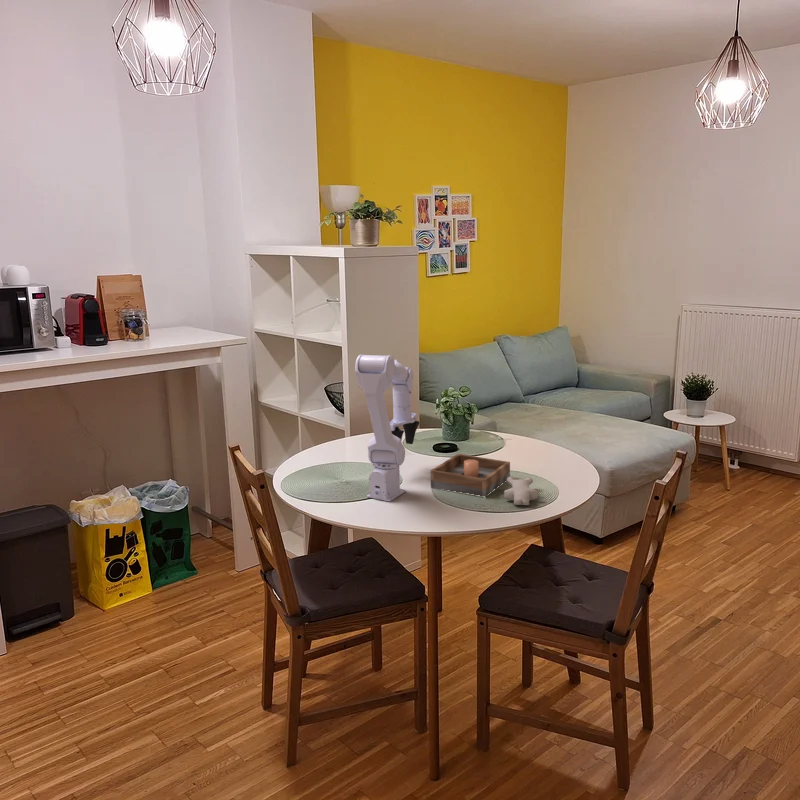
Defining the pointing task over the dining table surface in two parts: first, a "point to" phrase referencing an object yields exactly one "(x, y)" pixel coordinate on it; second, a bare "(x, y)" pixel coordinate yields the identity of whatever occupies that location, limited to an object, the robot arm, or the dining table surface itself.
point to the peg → (471, 468)
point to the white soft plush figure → (520, 491)
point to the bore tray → (455, 480)
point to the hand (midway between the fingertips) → (403, 446)
